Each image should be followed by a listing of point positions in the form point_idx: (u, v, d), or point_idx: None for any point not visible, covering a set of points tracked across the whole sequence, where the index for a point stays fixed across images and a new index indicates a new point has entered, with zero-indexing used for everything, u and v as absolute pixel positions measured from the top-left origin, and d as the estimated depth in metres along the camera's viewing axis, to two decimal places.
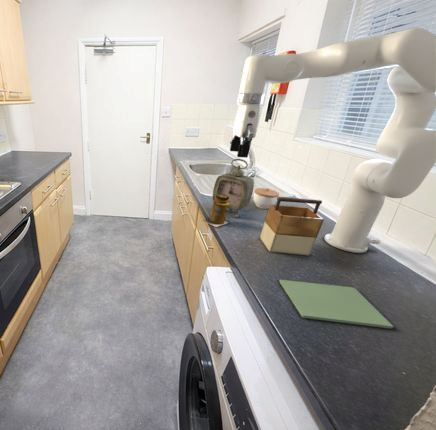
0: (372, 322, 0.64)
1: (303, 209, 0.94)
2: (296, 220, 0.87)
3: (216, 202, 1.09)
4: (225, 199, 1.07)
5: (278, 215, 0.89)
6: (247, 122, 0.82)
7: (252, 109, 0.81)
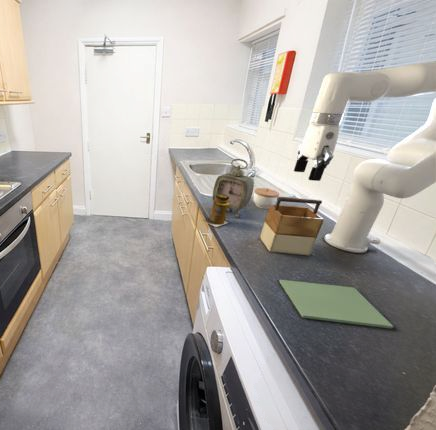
0: (372, 322, 0.64)
1: (303, 209, 0.94)
2: (296, 220, 0.87)
3: (216, 202, 1.09)
4: (225, 199, 1.07)
5: (278, 215, 0.89)
6: (324, 144, 0.77)
7: (331, 130, 0.75)
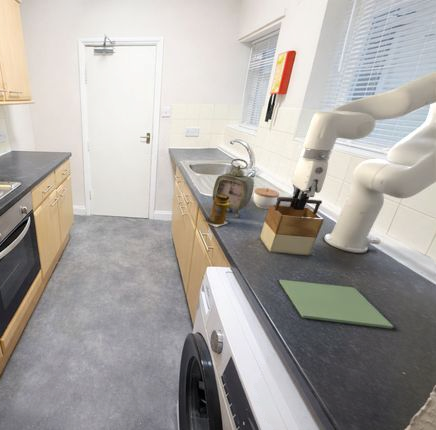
0: (372, 322, 0.64)
1: None
2: (296, 220, 0.87)
3: (216, 202, 1.09)
4: (225, 199, 1.07)
5: (278, 215, 0.89)
6: (313, 178, 0.81)
7: (320, 166, 0.79)
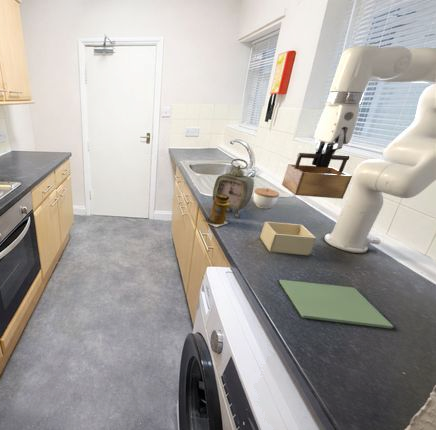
0: (372, 322, 0.64)
1: (326, 169, 0.84)
2: (320, 177, 0.76)
3: (216, 202, 1.09)
4: (225, 199, 1.07)
5: (299, 173, 0.79)
6: (342, 125, 0.70)
7: (350, 110, 0.69)
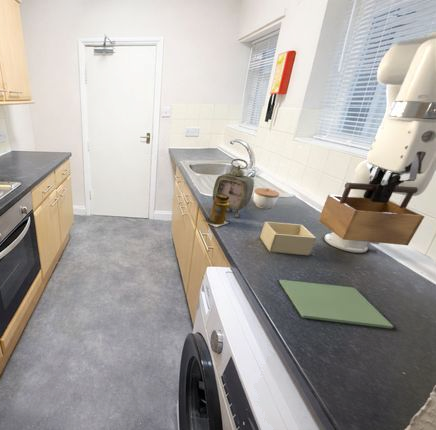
0: (372, 322, 0.64)
1: None
2: (379, 218, 0.56)
3: (216, 202, 1.09)
4: (225, 199, 1.07)
5: (348, 210, 0.58)
6: (417, 149, 0.50)
7: (431, 128, 0.48)
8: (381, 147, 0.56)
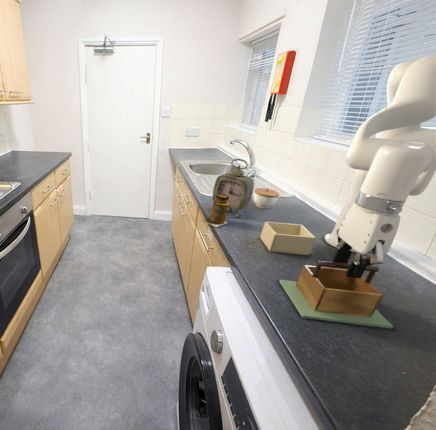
0: (372, 322, 0.64)
1: None
2: (344, 295, 0.64)
3: (216, 202, 1.09)
4: (225, 199, 1.07)
5: (319, 286, 0.66)
6: (378, 238, 0.57)
7: (388, 222, 0.55)
8: (349, 227, 0.63)
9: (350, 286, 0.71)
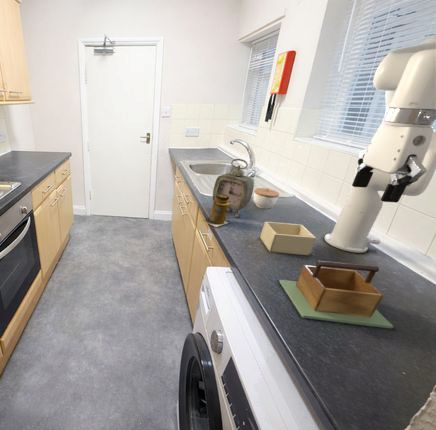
0: (372, 322, 0.64)
1: (348, 272, 0.71)
2: (344, 295, 0.64)
3: (216, 202, 1.09)
4: (225, 199, 1.07)
5: (319, 286, 0.66)
6: (409, 152, 0.54)
7: (421, 133, 0.53)
8: (376, 150, 0.60)
9: (350, 286, 0.71)
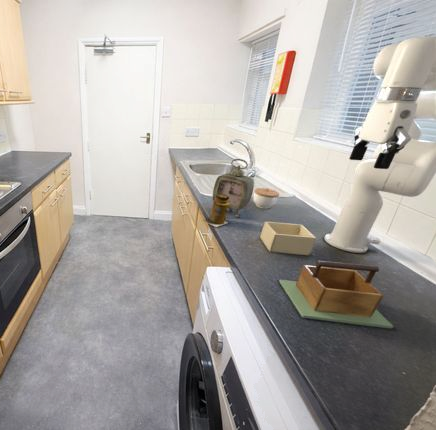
0: (372, 322, 0.64)
1: (348, 272, 0.71)
2: (344, 295, 0.64)
3: (216, 202, 1.09)
4: (225, 199, 1.07)
5: (319, 286, 0.66)
6: (397, 124, 0.64)
7: (406, 108, 0.63)
8: (370, 125, 0.70)
9: (350, 286, 0.71)
